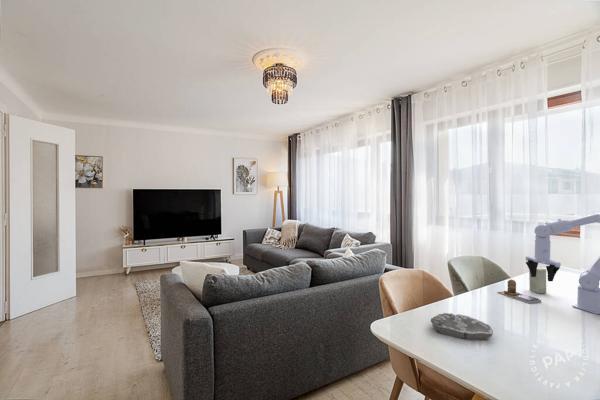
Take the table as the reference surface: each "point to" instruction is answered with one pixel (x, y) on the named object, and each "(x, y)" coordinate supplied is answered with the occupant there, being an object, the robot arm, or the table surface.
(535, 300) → the ink pad
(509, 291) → the stamp
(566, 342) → the table surface
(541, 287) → the skincare box
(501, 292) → the beige square tile
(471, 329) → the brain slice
